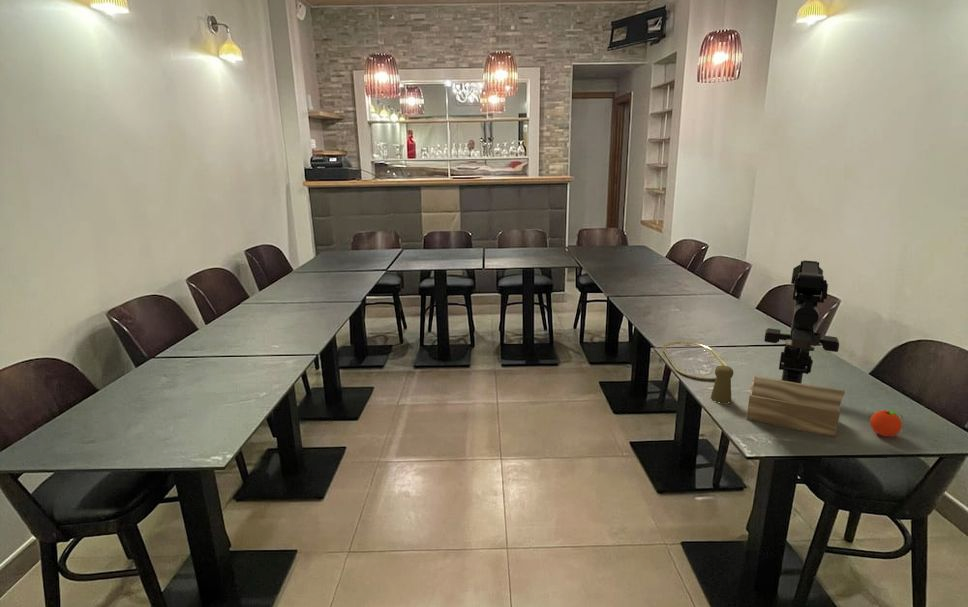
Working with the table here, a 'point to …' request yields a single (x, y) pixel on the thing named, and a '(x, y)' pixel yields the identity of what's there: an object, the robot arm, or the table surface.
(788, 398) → the carton flap
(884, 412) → the clementine
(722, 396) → the cork
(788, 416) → the kraft carton
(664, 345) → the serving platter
